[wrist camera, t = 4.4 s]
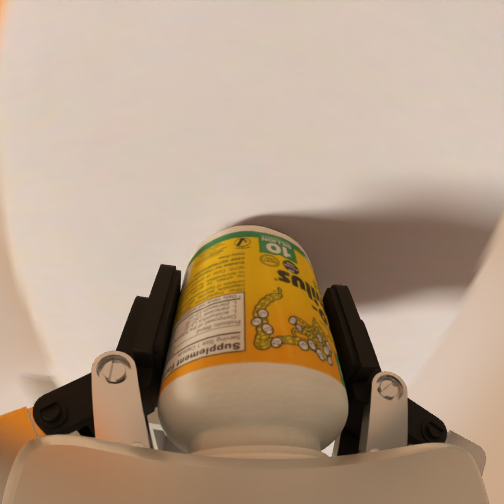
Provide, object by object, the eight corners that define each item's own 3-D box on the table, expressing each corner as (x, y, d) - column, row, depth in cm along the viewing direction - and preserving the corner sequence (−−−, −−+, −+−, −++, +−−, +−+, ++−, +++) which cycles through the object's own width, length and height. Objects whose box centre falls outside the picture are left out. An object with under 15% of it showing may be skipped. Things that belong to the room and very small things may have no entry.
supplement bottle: (163, 257, 13) (94, 490, 5) (277, 196, 11) (329, 482, 3) (230, 333, 15) (224, 526, 7) (330, 292, 14) (383, 502, 6)
